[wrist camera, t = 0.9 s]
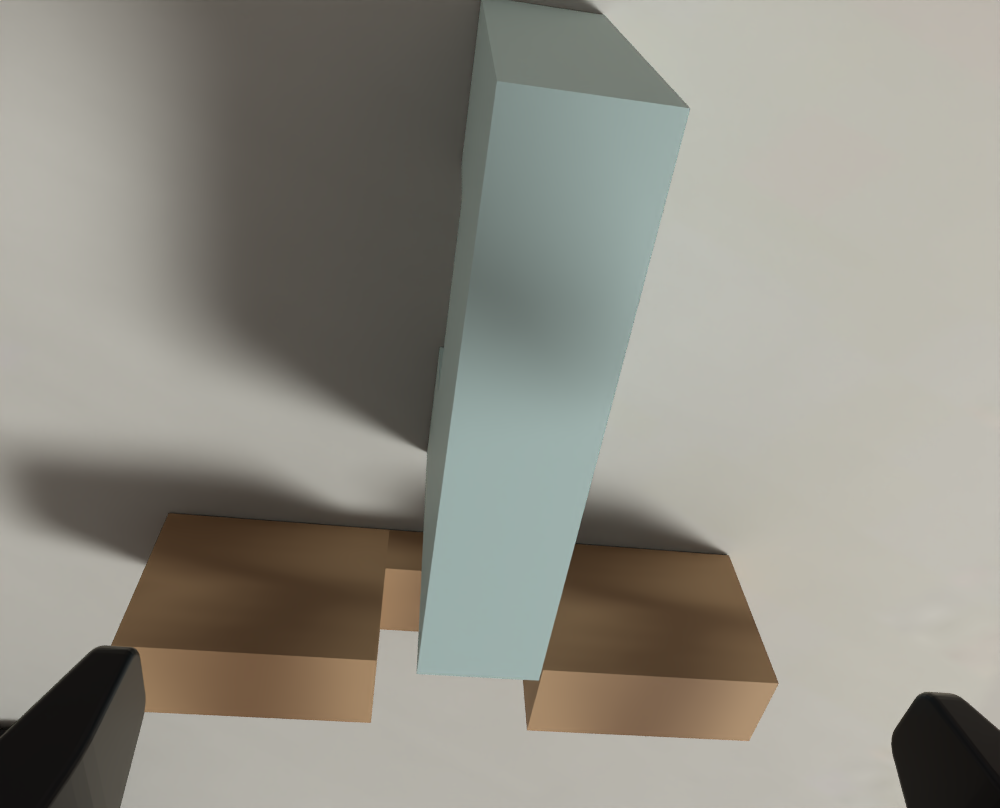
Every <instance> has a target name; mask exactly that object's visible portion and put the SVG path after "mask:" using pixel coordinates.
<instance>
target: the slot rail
mask: <svg viewBox="0 0 1000 808" xmlns="http://www.w3.org/2000/svg"><path fill="white" fill-rule="evenodd" d="M422 551H423V532H411V531H398V530H385V529H371V528H358V527H345V526H332V525H319V524H305V523H292V522H279V521H266V520H252V519H239V518H226V517H213V516H199V515H186V514H173V513H168V516H167V518H166V520H165V523H164V525H163V527H162V530H161V532H160V534H159V536H158V539H157V541H156V543H155V546H154V548H153V550H152V553H151V555H150V557H149V559H148V562H147V564H146V566H145V569H144V571H143V573H142V575H141V578H140V580H139V582H138V585H137V587H136V589H135V592H134V594H133V596H132V598H131V601H130V603H129V605H128V608H127V610H126V612H125V615H124V617H123V619H122V621H121V624H120V626H119V628H118V631H117V633H116V635H115V637H114V640H113V642H112V644H111V646H123V647H133V648H135V649H137V651H138V652H139V655H140V660H141V666H142V673H143V680H144V687H145V695H146V703H145V711H144V712H157V713H178V714H199V715H220V716H240V717H261V718H282V719H303V720H324V721H345V722H365V723H371V716H372V705H373V695H374V685H375V675H376V664H377V654H378V644H379V634H380V629H386V630H402V631H418V632H419V615H420V594H421V572H422ZM778 684H779V683H778V681H777V678H776V675H775V673H774V670H773V668H772V665H771V663H770V660H769V657H768V655H767V652H766V650H765V647H764V645H763V642H762V639H761V637H760V634H759V632H758V629H757V627H756V624H755V621H754V619H753V616H752V614H751V611H750V609H749V606H748V603H747V601H746V598H745V596H744V593H743V591H742V588H741V585H740V583H739V580H738V578H737V575H736V573H735V570H734V567H733V565H732V562H731V560H730V557H729V555H716V554H702V553H689V552H676V551H663V550H649V549H636V548H623V547H610V546H596V545H583V544H575V546H574V550H573V553H572V557H571V561H570V565H569V569H568V572H567V576H566V580H565V584H564V587H563V591H562V595H561V599H560V603H559V606H558V610H557V614H556V618H555V621H554V625H553V629H552V633H551V637H550V640H549V644H548V648H547V652H546V656H545V659H544V663H543V667H542V671H541V674H540V678H539V681H538V680H523V686H524V698H525V711H526V723H527V730H532V731H553V732H574V733H595V734H615V735H636V736H657V737H678V738H699V739H720V740H740V741H749V740H750V738H751V736H752V734H753V732H754V730H755V728H756V726H757V724H758V722H759V721H760V719H761V717H762V715H763V713H764V711H765V709H766V707H767V705H768V703H769V701H770V699H771V697H772V695H773V693H774V692H775V690H776V688H777V686H778Z"/></svg>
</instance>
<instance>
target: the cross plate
mask: <svg viewBox="0 0 1000 808" xmlns="http://www.w3.org/2000/svg"><path fill="white" fill-rule="evenodd" d="M689 111H690V108H689V106H688V105H687V104H686V103H685V102H684V101H683V100H682V99H681V98H680V97H679V96H678V95H677V93H676V92H675V91H674V90H673V89H672V88H671V87H670V86H669V85H668V84H667V83H666V81H665V80H664V79H663V78H662V77H661V76H660V75H659V74H658V73H657V72H656V71H655V70H654V68H653V67H652V66H651V65H650V64H649V63H648V62H647V61H646V60H645V59H644V58H643V57H642V55H641V54H640V53H639V52H638V51H637V50H636V49H635V48H634V47H633V46H632V45H631V43H630V42H629V41H628V40H627V39H626V38H625V37H624V36H623V35H622V34H621V33H620V32H619V30H618V29H617V28H616V27H615V26H614V25H613V24H612V23H611V22H610V21H609V20H608V18H607V17H606V16H605V15H601V14H595V13H588V12H582V11H575V10H569V9H562V8H556V7H549V6H543V5H536V4H530V3H523V2H516V1H510V0H481V4H480V13H479V21H478V30H477V38H476V47H475V55H474V63H473V72H472V80H471V89H470V97H469V105H468V114H467V122H466V131H465V139H464V147H463V156H462V164H461V165H462V202H461V211H460V219H459V227H458V235H457V243H456V251H455V260H454V268H453V276H452V284H451V292H450V301H449V309H448V317H447V325H446V333H445V342H444V348H442V347H440V349H439V358H438V366H437V375H436V383H435V391H434V400H433V408H432V417H431V425H430V433H429V442H428V450H427V467H426V488H425V509H424V530H423V551H422V572H421V594H420V615H419V636H418V657H417V674H429V675H447V676H465V677H483V678H501V679H519V680H538V681H539V678H540V674H541V671H542V667H543V663H544V659H545V656H546V652H547V648H548V644H549V640H550V637H551V633H552V629H553V625H554V621H555V618H556V614H557V610H558V606H559V603H560V599H561V595H562V591H563V587H564V584H565V580H566V576H567V572H568V569H569V565H570V561H571V557H572V553H573V550H574V546H575V542H576V538H577V535H578V531H579V527H580V523H581V519H582V516H583V512H584V508H585V504H586V501H587V497H588V493H589V489H590V485H591V482H592V478H593V474H594V470H595V466H596V463H597V459H598V455H599V451H600V448H601V444H602V440H603V436H604V432H605V429H606V425H607V421H608V417H609V414H610V410H611V406H612V402H613V398H614V395H615V391H616V387H617V383H618V380H619V376H620V372H621V368H622V364H623V361H624V357H625V353H626V349H627V346H628V342H629V338H630V334H631V330H632V327H633V323H634V319H635V315H636V311H637V308H638V304H639V300H640V296H641V293H642V289H643V285H644V281H645V277H646V274H647V270H648V266H649V262H650V259H651V255H652V251H653V247H654V243H655V240H656V236H657V232H658V228H659V225H660V221H661V217H662V213H663V209H664V206H665V202H666V198H667V194H668V191H669V187H670V183H671V179H672V175H673V172H674V168H675V164H676V160H677V156H678V153H679V149H680V145H681V141H682V138H683V134H684V130H685V126H686V122H687V119H688V115H689Z"/></svg>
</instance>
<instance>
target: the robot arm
mask: <svg viewBox="0 0 1000 808" xmlns="http://www.w3.org/2000/svg"><path fill="white" fill-rule="evenodd" d="M145 703H146V695H145V687H144V680H143V673H142V666H141V660H140V655H139V652H138V651H137V649H135V648H133V647H123V646H99V647H97V648H95V649H93V650H92V651H90V652H89V653H88V654H87V655H86V656H85V657H84V658H83V659H82V660H81V661H80V662H79V663H78V664H77V665H75V666H74V667H73V668H72V669H71V670H70V671H69V672H68V673H67V674H66V675H65V676H64V677H63V678H62V679H61V680H60V681H59V682H58V683H56V684H55V685H54V686H53V687H52V688H51V689H50V690H49V691H48V692H47V693H46V694H45V695H44V696H43V697H42V698H41V699H40V700H39V701H38V702H36V703H35V704H34V705H33V706H32V707H31V708H30V709H29V710H28V711H27V712H26V713H25V714H24V715H23V716H22V717H21V718H20V719H19V720H18V721H16V722H15V723H14V724H13V725H12V726H11V727H10V728H9V729H8V730H0V808H120V806H121V802H122V798H123V794H124V790H125V786H126V782H127V778H128V775H129V771H130V767H131V763H132V759H133V755H134V751H135V747H136V744H137V740H138V736H139V732H140V728H141V724H142V720H143V716H144V711H145ZM891 745H892V754H893V758H894V761H895V765H896V769H897V773H898V777H899V780H900V784H901V788H902V792H903V795H904V799H905V803H906V807H907V808H1000V730H999V729H998V728H996V727H995V726H994V725H993V724H992V723H991V722H990V721H988V720H987V719H986V718H985V717H984V716H983V715H981V714H980V713H979V712H978V711H977V710H976V709H974V708H973V707H972V706H971V705H970V704H969V703H967V702H966V701H965V700H964V699H962V698H961V697H959V696H957V695H955V694H951V693H938V692H924V693H921V694H919V695H918V696H917V697H916V698H915V700H914V701H913V703H912V704H911V706H910V707H909V709H908V710H907V712H906V713H905V715H904V716H903V718H902V719H901V721H900V722H899V724H898V725H897V727H896V728H895V730H894V732H893V735H892V742H891Z"/></svg>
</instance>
